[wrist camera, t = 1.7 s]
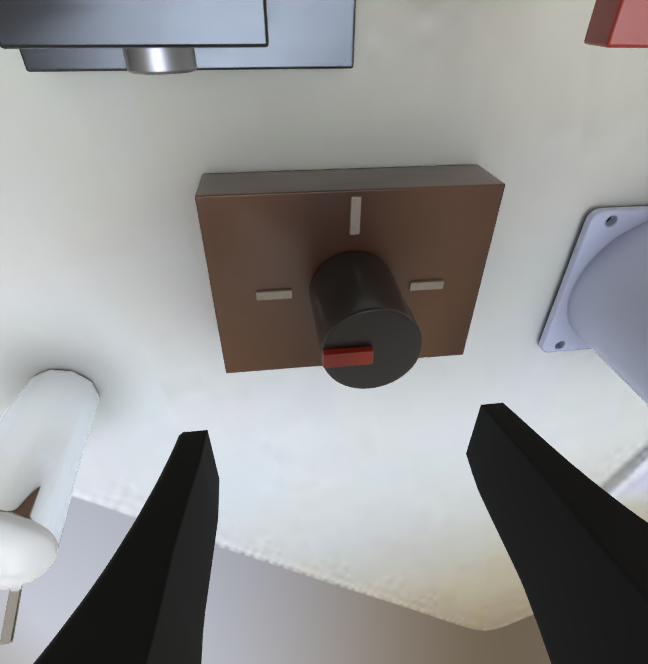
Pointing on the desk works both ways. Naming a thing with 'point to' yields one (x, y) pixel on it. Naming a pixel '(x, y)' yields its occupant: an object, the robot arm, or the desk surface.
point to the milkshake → (39, 476)
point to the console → (342, 251)
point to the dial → (363, 322)
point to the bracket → (179, 34)
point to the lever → (619, 24)
